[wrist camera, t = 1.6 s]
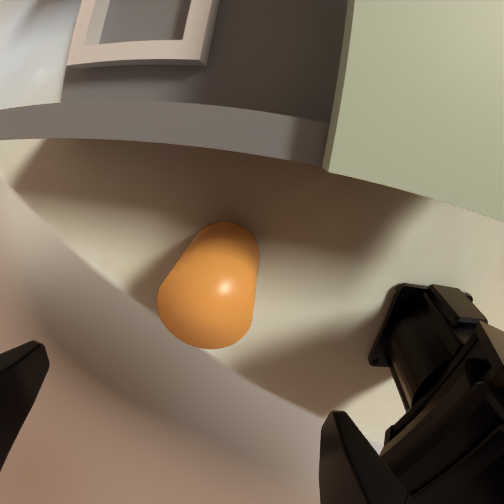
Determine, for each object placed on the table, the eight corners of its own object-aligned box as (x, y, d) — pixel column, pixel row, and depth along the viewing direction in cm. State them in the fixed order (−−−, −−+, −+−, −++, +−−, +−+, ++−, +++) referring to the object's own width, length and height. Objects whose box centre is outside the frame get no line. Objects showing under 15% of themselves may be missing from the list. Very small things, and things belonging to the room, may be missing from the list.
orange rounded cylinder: (253, 291, 19) (244, 356, 13) (188, 279, 19) (157, 338, 13) (265, 228, 17) (260, 276, 12) (194, 216, 17) (157, 257, 12)
